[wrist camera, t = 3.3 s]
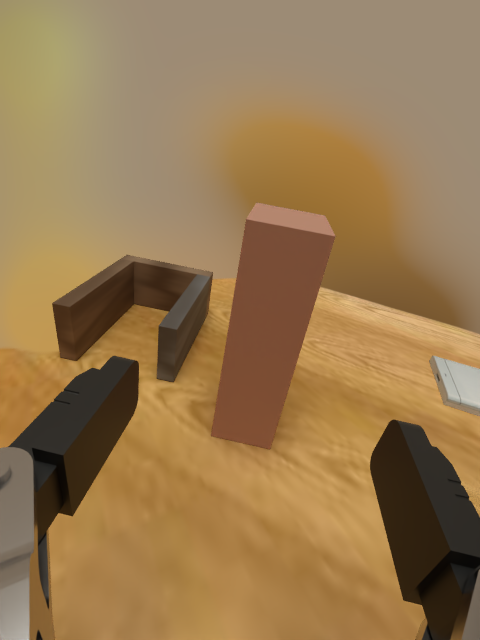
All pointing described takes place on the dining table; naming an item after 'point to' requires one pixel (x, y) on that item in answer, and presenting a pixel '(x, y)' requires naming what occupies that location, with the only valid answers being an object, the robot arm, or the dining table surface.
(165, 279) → the book slot
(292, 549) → the dining table surface
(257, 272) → the reddish pink rectangular block
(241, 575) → the dining table surface
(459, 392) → the hard drive
